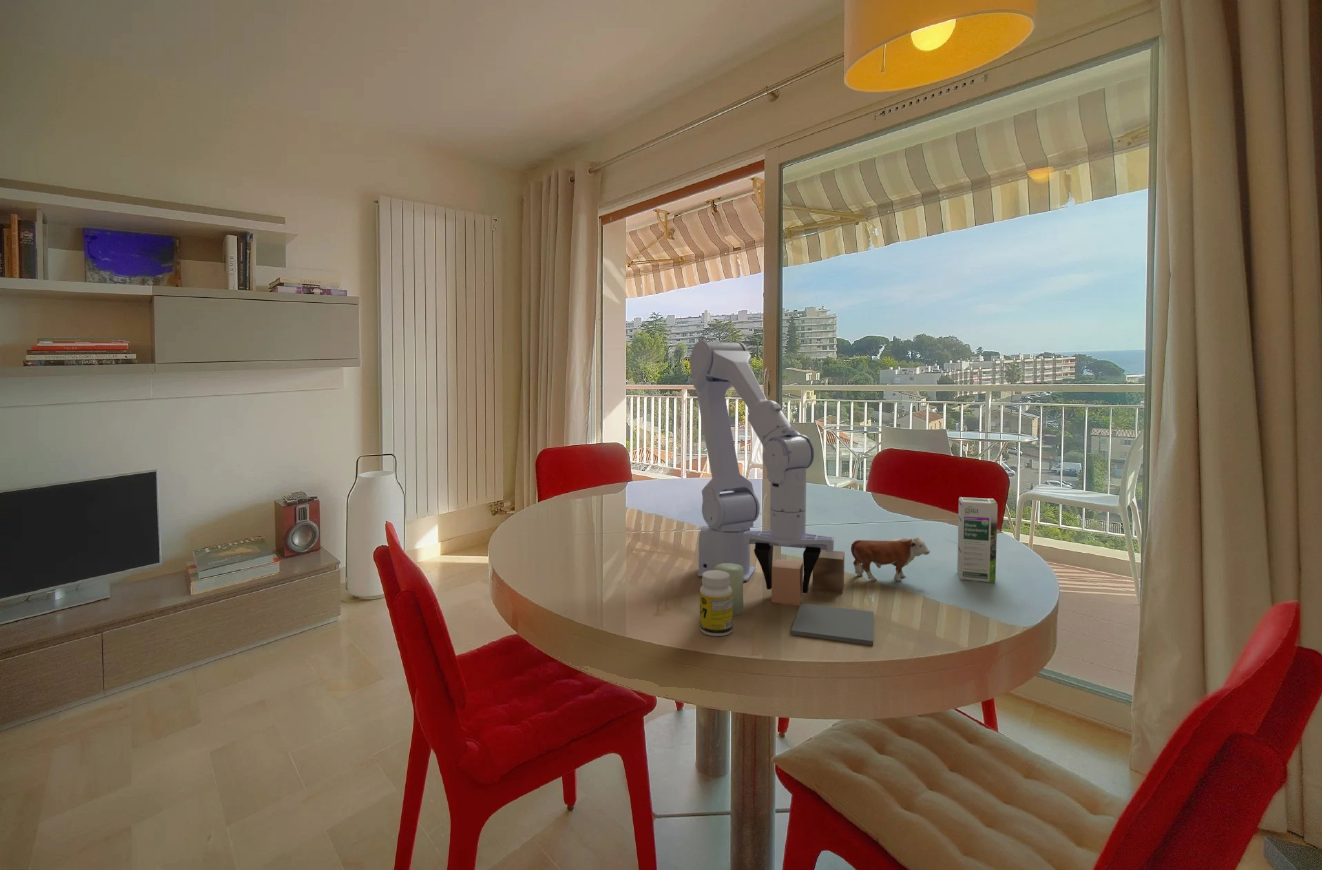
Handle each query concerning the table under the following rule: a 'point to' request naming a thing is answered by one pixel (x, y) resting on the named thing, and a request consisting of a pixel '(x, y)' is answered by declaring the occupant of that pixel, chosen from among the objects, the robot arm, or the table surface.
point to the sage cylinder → (734, 585)
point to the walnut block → (829, 572)
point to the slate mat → (834, 624)
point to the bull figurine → (886, 554)
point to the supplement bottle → (716, 603)
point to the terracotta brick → (787, 582)
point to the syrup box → (977, 539)
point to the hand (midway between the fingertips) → (787, 589)
